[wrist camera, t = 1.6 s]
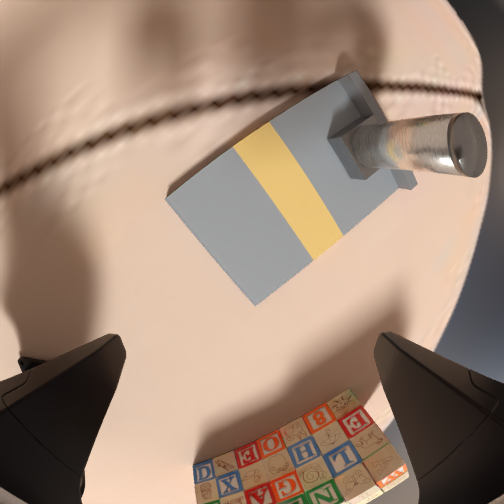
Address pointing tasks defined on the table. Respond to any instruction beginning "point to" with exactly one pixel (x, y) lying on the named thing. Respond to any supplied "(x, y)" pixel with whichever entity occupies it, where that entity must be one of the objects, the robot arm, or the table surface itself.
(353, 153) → the lever handle
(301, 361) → the table surface
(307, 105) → the plate
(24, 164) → the table surface
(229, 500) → the stack of blocks
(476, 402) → the robot arm
